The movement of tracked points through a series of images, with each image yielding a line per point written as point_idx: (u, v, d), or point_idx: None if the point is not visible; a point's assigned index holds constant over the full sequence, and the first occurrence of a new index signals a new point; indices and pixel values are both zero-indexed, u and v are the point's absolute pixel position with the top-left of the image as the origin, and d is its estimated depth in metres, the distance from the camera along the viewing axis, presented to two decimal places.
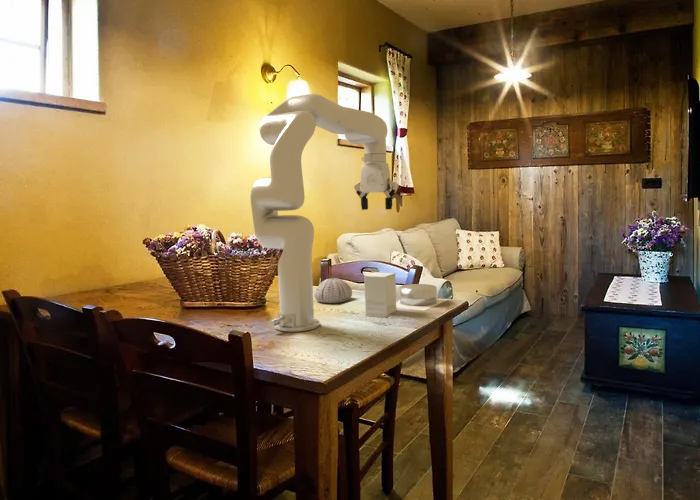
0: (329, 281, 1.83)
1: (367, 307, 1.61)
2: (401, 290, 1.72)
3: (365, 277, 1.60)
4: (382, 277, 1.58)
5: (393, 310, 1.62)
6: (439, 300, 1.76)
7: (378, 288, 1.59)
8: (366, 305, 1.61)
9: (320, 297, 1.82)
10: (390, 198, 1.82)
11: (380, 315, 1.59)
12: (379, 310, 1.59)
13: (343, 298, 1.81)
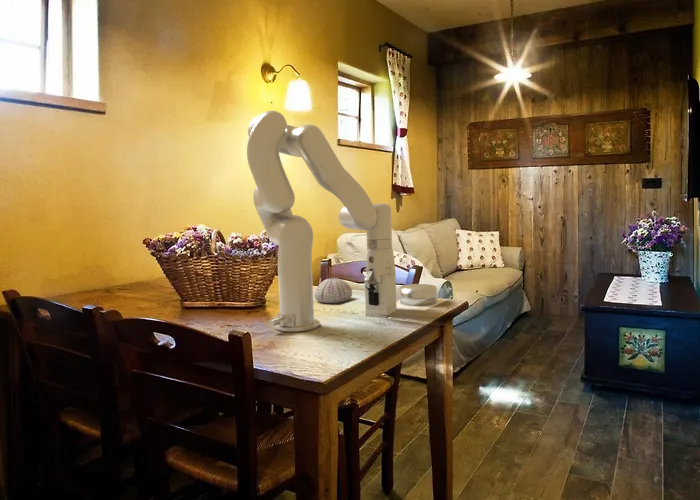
0: (329, 281, 1.83)
1: (367, 307, 1.61)
2: (401, 290, 1.72)
3: (365, 277, 1.60)
4: (382, 277, 1.58)
5: (393, 310, 1.62)
6: (439, 300, 1.76)
7: (378, 288, 1.59)
8: (366, 305, 1.61)
9: (320, 297, 1.82)
10: None
11: (380, 315, 1.59)
12: (379, 310, 1.59)
13: (343, 298, 1.81)
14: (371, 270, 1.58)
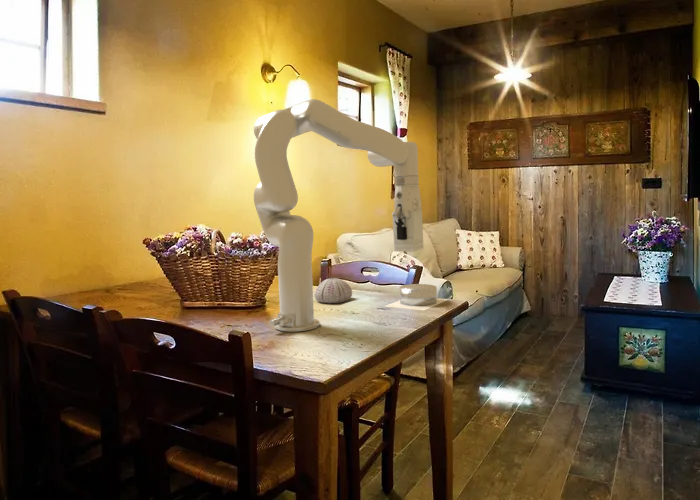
0: (329, 281, 1.83)
1: (395, 242, 1.68)
2: (401, 290, 1.72)
3: (393, 213, 1.67)
4: (410, 212, 1.64)
5: (420, 245, 1.69)
6: (439, 300, 1.76)
7: (406, 223, 1.65)
8: (394, 240, 1.68)
9: (320, 297, 1.82)
10: None
11: (408, 249, 1.66)
12: (408, 244, 1.66)
13: (343, 298, 1.81)
14: (399, 205, 1.64)
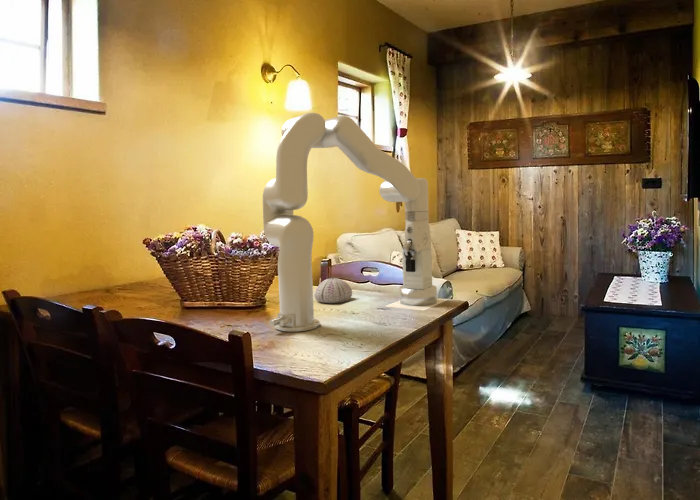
0: (329, 281, 1.83)
1: (405, 279, 1.73)
2: (401, 290, 1.72)
3: (403, 251, 1.72)
4: None
5: (429, 282, 1.73)
6: (439, 300, 1.76)
7: (415, 261, 1.70)
8: (404, 277, 1.73)
9: (320, 297, 1.82)
10: None
11: (417, 286, 1.70)
12: (416, 281, 1.70)
13: (343, 298, 1.81)
14: (409, 239, 1.68)
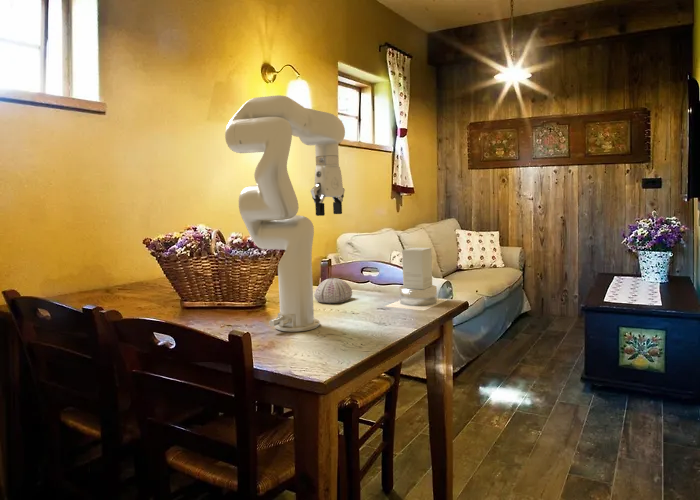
0: (329, 281, 1.83)
1: (405, 279, 1.73)
2: (401, 290, 1.72)
3: (403, 251, 1.72)
4: (419, 251, 1.69)
5: (429, 282, 1.73)
6: (439, 300, 1.76)
7: (415, 261, 1.70)
8: (404, 277, 1.73)
9: (320, 297, 1.82)
10: None
11: (417, 286, 1.70)
12: (416, 281, 1.70)
13: (343, 298, 1.81)
14: (318, 183, 1.71)
